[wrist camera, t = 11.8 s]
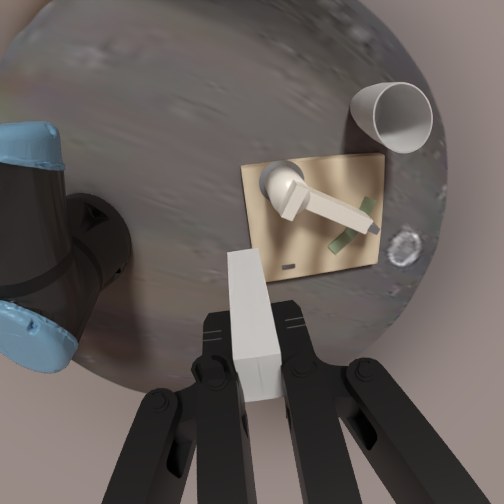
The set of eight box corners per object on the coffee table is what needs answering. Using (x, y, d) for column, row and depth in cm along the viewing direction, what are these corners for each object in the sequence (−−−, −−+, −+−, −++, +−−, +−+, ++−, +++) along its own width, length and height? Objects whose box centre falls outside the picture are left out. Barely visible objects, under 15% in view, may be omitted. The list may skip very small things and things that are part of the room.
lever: (259, 192, 39) (266, 214, 32) (273, 160, 37) (284, 176, 30) (360, 233, 43) (380, 258, 37) (375, 207, 41) (398, 229, 35)
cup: (399, 121, 37) (440, 135, 28) (355, 146, 38) (390, 165, 30) (375, 71, 33) (416, 72, 24) (328, 95, 34) (360, 100, 26)
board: (256, 277, 48) (257, 284, 46) (239, 162, 38) (240, 165, 37) (373, 258, 48) (377, 264, 47) (379, 149, 39) (385, 152, 37)
